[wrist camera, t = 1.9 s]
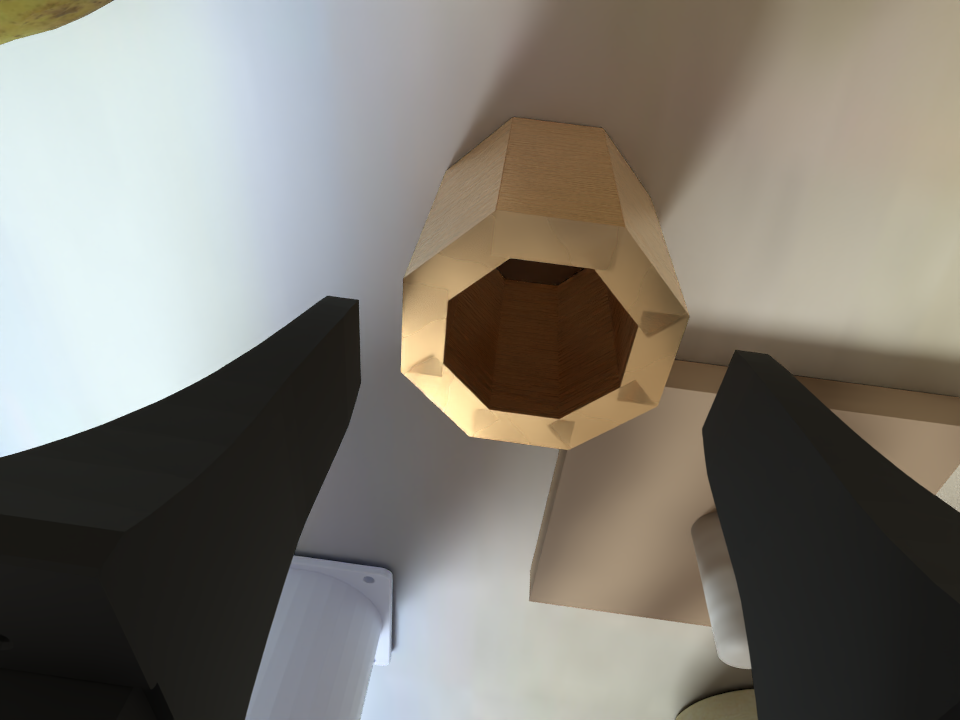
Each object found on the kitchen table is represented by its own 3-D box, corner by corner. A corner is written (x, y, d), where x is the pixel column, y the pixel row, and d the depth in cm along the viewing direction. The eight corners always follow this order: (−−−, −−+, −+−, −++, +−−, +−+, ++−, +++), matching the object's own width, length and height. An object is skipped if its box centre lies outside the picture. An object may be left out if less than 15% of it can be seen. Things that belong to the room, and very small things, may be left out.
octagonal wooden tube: (437, 296, 19) (399, 426, 14) (449, 108, 16) (405, 198, 11) (617, 319, 19) (639, 459, 14) (667, 136, 16) (717, 238, 11)
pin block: (530, 569, 27) (525, 714, 22) (583, 347, 20) (593, 489, 15) (806, 608, 27) (861, 762, 22) (960, 397, 20) (1092, 557, 15)
